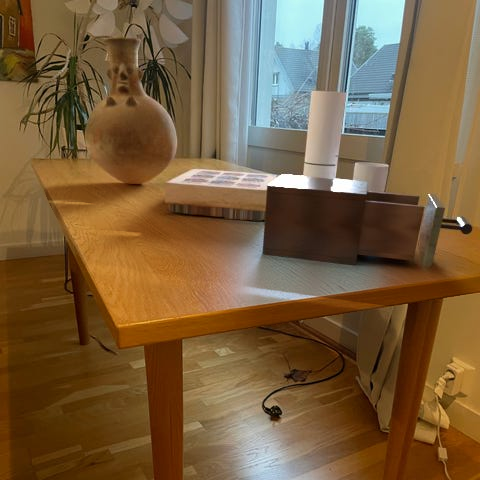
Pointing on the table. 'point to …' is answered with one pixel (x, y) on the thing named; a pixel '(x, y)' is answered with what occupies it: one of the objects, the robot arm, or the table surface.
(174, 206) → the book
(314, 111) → the cylindrical container
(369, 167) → the mug
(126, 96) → the vase
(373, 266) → the table surface
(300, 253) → the cabinet
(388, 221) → the drawer
